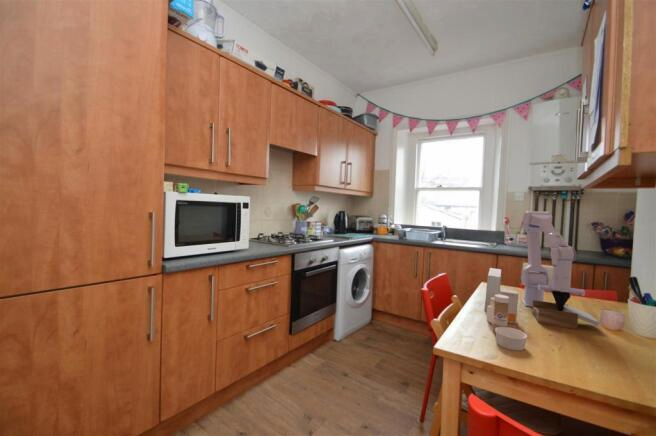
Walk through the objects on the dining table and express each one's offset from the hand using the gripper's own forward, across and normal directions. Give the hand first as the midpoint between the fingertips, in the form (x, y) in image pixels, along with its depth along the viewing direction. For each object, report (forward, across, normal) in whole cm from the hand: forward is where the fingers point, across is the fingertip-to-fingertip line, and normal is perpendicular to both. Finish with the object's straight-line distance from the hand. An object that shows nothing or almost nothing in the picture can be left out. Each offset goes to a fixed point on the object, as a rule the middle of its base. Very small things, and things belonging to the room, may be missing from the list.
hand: (559, 310), depth 116 cm
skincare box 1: (+5, -23, +9) cm, 25 cm away
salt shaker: (+5, -24, -15) cm, 28 cm away
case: (+5, -2, 0) cm, 5 cm away
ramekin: (+5, -21, -34) cm, 40 cm away
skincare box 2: (+5, -19, -10) cm, 22 cm away
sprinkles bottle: (+5, -23, -25) cm, 34 cm away
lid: (+1, +6, 0) cm, 6 cm away
